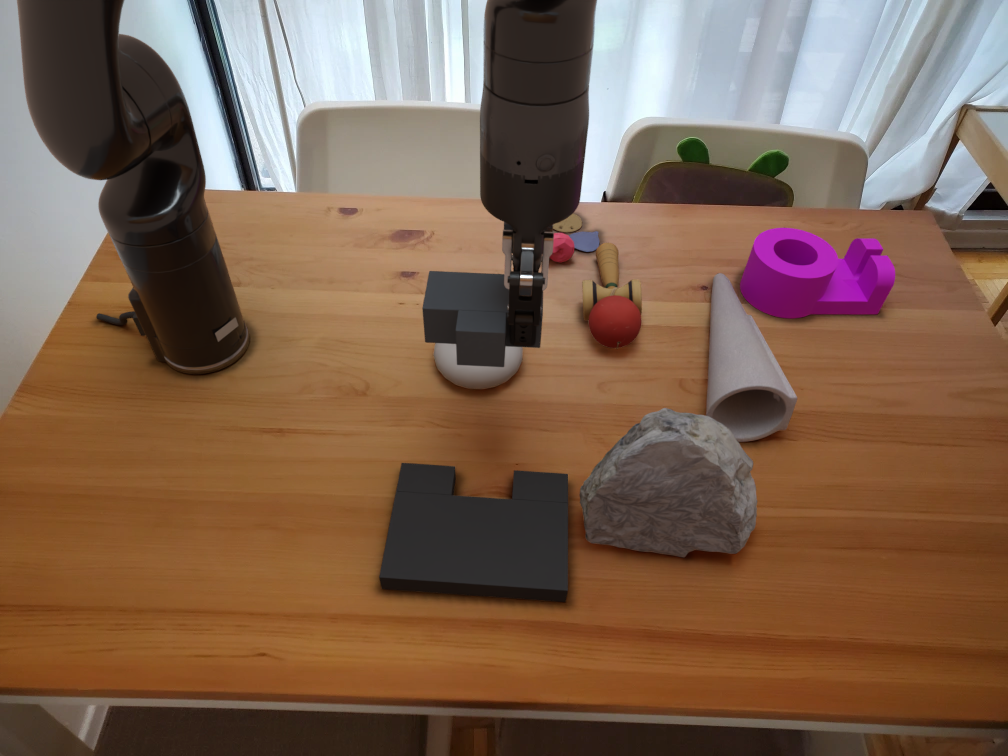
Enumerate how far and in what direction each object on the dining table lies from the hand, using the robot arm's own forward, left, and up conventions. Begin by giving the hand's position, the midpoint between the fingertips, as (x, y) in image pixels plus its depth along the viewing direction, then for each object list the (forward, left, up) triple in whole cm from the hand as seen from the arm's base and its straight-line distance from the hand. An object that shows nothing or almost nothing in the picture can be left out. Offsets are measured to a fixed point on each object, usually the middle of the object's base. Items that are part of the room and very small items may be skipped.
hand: (523, 320), depth 63 cm
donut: (-5, +10, -16) cm, 19 cm away
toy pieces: (+4, +34, -16) cm, 37 cm away
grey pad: (-3, -1, -1) cm, 4 cm away
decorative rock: (+14, -10, -16) cm, 24 cm away
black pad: (-3, -12, -16) cm, 20 cm away
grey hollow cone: (+22, +14, -16) cm, 30 cm away
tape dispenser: (+35, +26, -16) cm, 46 cm away
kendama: (+10, +21, -16) cm, 28 cm away
